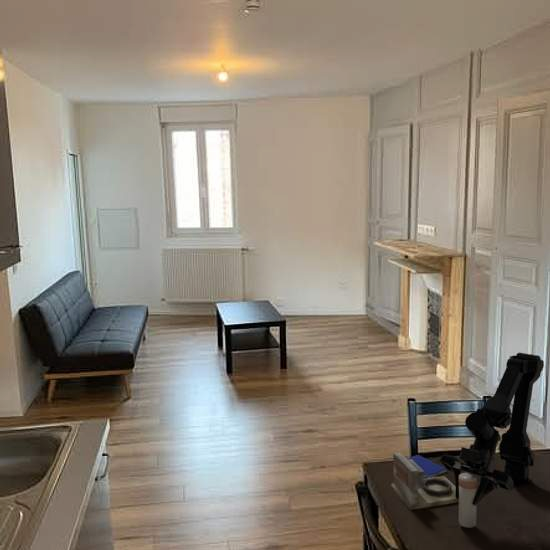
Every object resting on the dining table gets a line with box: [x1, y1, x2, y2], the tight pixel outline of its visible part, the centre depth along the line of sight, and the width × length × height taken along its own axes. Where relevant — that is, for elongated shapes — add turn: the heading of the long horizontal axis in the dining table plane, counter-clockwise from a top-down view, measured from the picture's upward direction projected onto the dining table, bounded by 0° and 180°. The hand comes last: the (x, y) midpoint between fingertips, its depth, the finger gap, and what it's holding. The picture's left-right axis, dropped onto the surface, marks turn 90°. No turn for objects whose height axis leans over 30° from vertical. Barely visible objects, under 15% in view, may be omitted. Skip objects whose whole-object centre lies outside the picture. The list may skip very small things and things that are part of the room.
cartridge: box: [458, 472, 478, 528], centre depth 150 cm, size 5×5×13 cm
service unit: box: [391, 452, 459, 511], centre depth 167 cm, size 18×13×11 cm
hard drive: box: [406, 454, 448, 478], centre depth 184 cm, size 2×8×12 cm
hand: (465, 501), depth 149 cm, fingers closed on cartridge, 4 cm apart
